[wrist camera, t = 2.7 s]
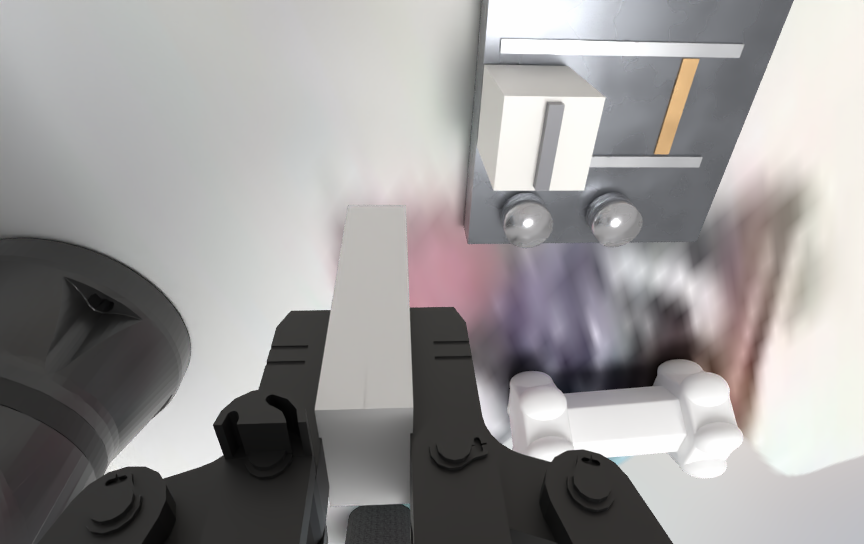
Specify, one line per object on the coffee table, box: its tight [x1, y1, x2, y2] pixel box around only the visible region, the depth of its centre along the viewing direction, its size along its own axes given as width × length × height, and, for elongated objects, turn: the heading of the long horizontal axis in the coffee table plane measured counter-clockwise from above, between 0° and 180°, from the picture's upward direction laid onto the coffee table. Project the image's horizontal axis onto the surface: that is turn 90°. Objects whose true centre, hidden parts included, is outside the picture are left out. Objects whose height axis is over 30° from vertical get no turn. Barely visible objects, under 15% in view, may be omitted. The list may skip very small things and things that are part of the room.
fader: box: [477, 64, 606, 191], centre depth 22 cm, size 4×4×5 cm
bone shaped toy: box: [507, 359, 743, 478], centre depth 37 cm, size 15×9×8 cm, turn 92°
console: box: [464, 0, 794, 248], centre depth 25 cm, size 14×16×4 cm
